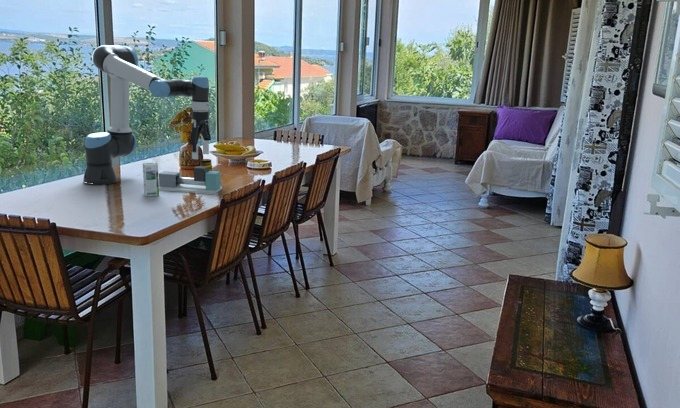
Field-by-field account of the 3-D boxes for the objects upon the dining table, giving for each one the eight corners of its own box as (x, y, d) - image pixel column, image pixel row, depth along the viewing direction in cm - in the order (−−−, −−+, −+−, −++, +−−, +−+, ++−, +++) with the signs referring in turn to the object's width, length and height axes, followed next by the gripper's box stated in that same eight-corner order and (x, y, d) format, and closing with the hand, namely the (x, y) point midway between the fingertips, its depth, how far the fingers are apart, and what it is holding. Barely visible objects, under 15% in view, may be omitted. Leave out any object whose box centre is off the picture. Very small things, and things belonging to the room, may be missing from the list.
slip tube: (169, 184, 280) (169, 166, 278) (173, 182, 284) (173, 164, 282) (214, 187, 277) (214, 169, 275) (217, 185, 282) (217, 167, 279)
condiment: (215, 184, 294) (215, 160, 292) (198, 185, 290) (198, 161, 287) (209, 181, 300) (209, 158, 297) (193, 182, 296) (193, 159, 293)
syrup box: (146, 196, 264) (144, 164, 261) (143, 193, 269) (142, 162, 266) (159, 195, 267) (158, 164, 263) (156, 192, 272) (155, 161, 268)
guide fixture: (156, 189, 278) (155, 170, 276) (167, 184, 289) (166, 166, 287) (213, 194, 274) (213, 175, 272) (222, 188, 286) (222, 170, 283)
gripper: (198, 114, 259) (198, 161, 265) (217, 108, 283) (217, 152, 289) (181, 112, 260) (182, 160, 266) (202, 107, 284) (202, 151, 289)
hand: (200, 156), depth 277 cm, fingers open, 13 cm apart
